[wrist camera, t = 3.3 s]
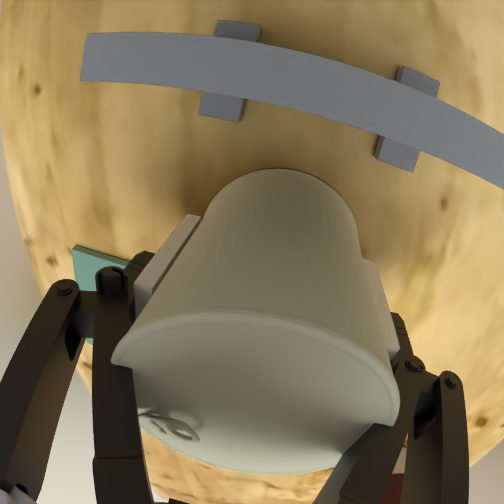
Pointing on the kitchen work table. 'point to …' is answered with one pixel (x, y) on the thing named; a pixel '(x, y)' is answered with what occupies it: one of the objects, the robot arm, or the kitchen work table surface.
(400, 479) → the coffee cup
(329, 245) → the can
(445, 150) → the screen
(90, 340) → the mat
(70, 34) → the kitchen work table surface
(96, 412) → the robot arm
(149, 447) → the kitchen work table surface
